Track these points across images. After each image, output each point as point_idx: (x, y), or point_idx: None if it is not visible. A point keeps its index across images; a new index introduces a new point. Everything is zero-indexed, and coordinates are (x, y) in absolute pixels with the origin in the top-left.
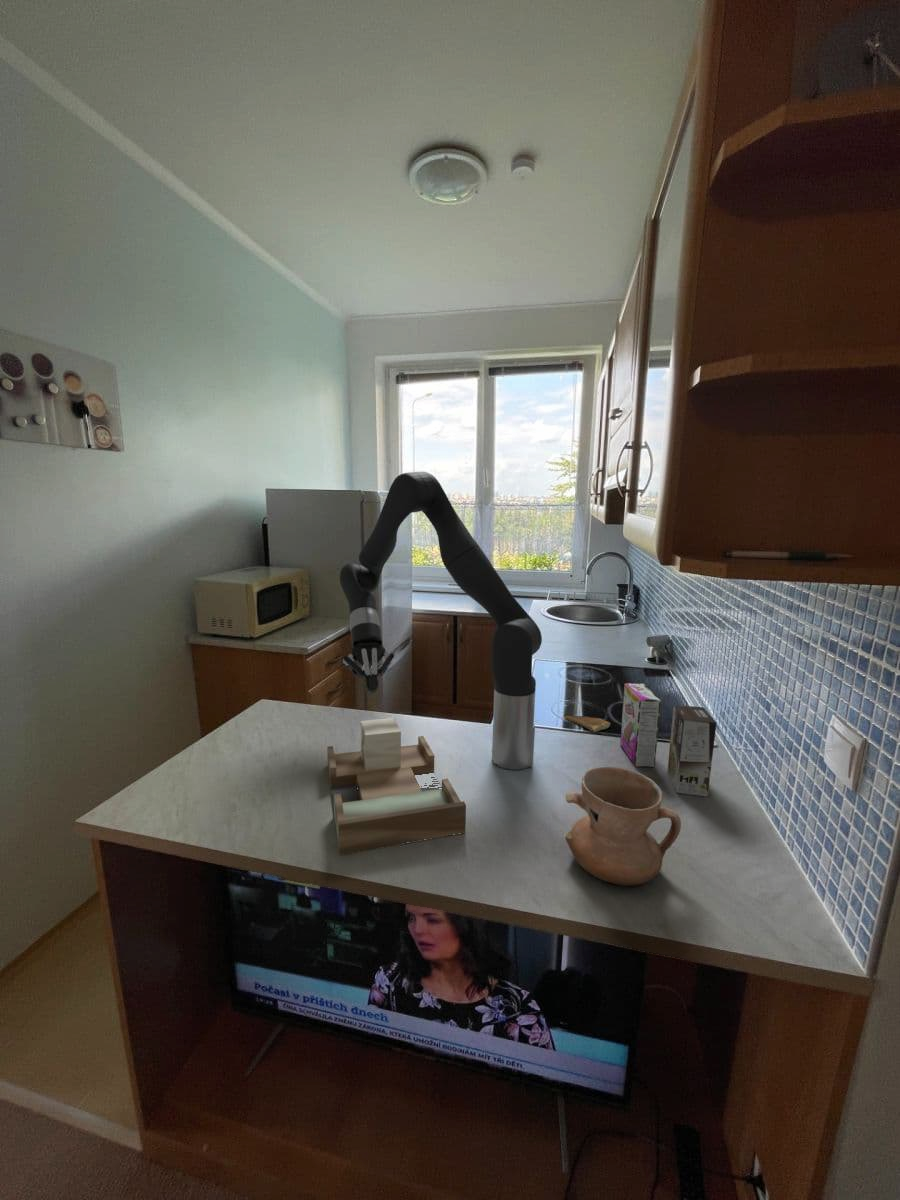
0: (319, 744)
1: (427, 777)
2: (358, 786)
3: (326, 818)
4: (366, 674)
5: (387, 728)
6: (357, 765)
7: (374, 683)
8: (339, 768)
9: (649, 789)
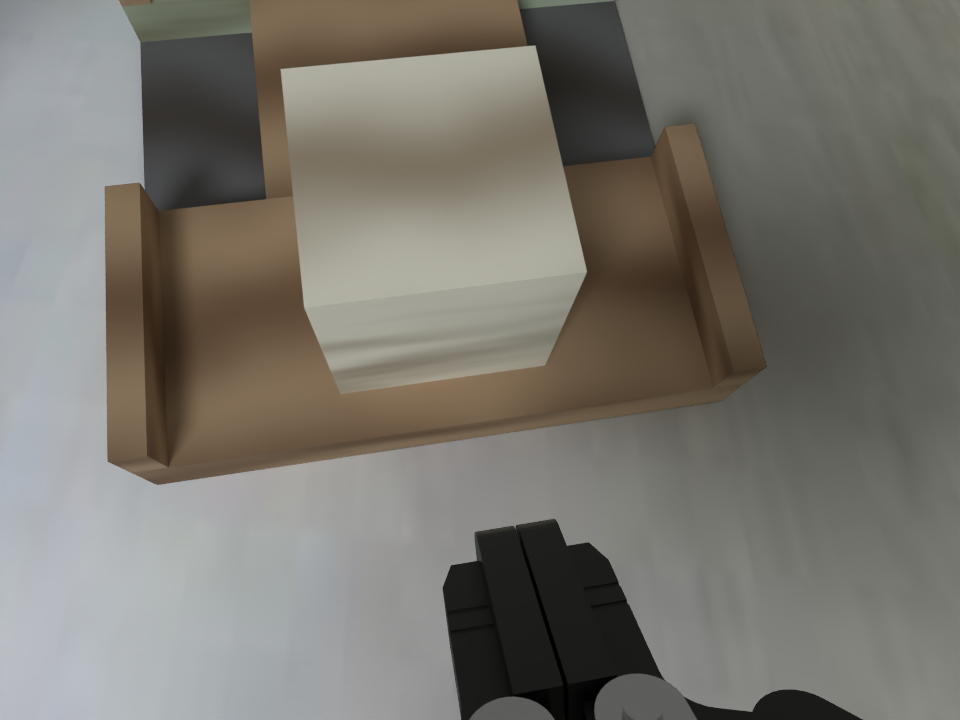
0: (833, 693)
1: None
2: None
3: (640, 2)
4: (656, 686)
5: (376, 122)
6: None
7: (499, 581)
8: (648, 228)
9: None
